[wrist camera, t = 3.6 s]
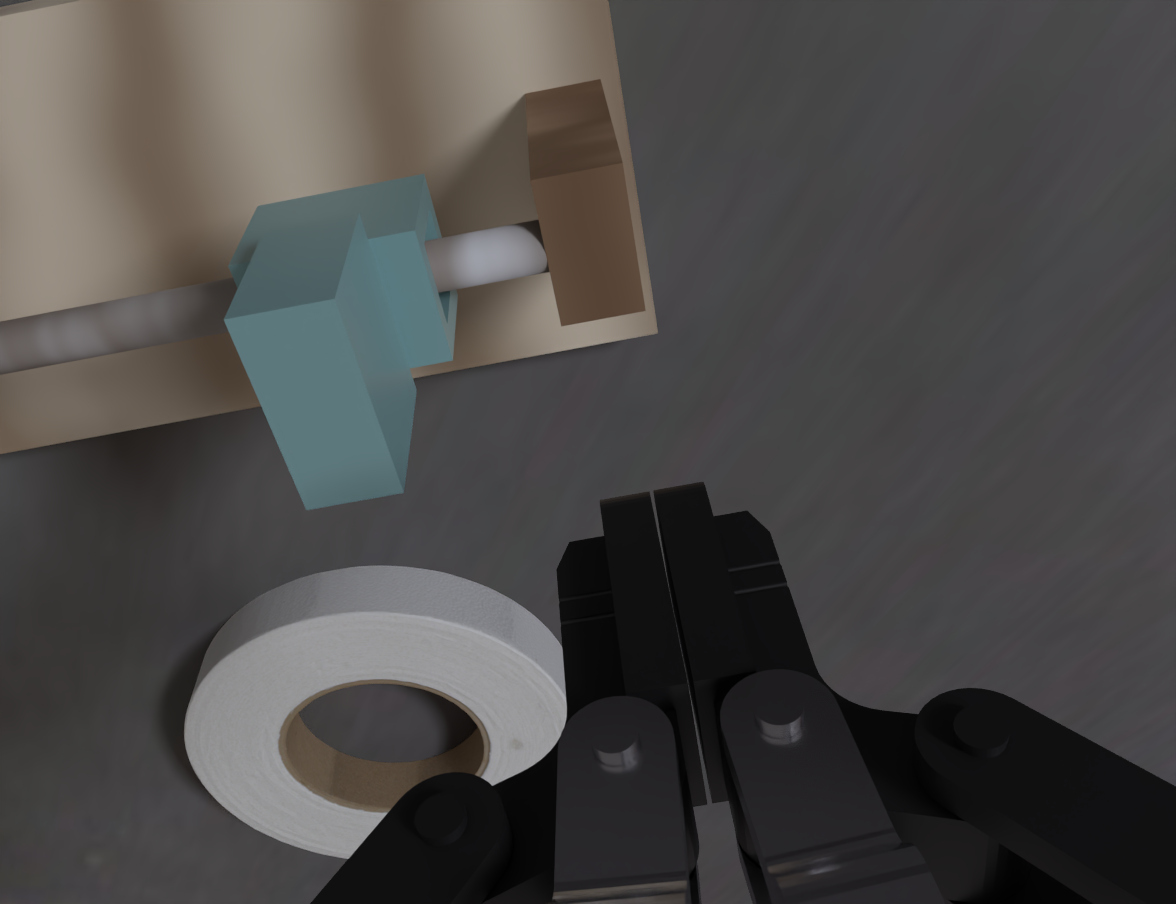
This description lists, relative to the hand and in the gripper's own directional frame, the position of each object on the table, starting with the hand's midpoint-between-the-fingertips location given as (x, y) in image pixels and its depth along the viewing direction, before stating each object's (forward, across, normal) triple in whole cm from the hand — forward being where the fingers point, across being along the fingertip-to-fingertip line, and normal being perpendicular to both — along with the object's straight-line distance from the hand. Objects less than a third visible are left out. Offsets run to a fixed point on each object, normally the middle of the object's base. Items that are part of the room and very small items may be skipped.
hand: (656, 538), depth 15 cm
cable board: (+18, +11, 0) cm, 21 cm away
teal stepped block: (+12, +6, 0) cm, 14 cm away
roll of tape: (+18, +12, +22) cm, 31 cm away
